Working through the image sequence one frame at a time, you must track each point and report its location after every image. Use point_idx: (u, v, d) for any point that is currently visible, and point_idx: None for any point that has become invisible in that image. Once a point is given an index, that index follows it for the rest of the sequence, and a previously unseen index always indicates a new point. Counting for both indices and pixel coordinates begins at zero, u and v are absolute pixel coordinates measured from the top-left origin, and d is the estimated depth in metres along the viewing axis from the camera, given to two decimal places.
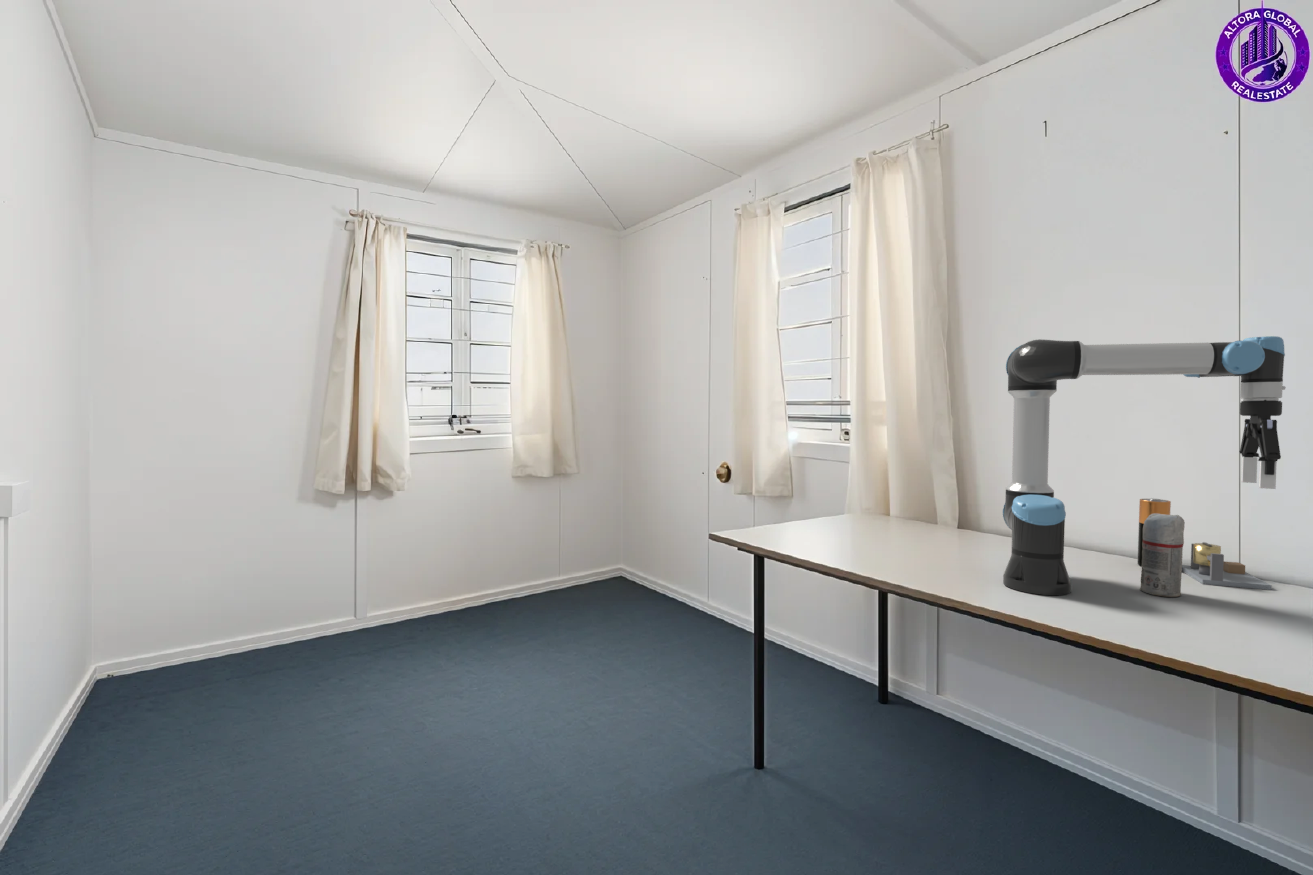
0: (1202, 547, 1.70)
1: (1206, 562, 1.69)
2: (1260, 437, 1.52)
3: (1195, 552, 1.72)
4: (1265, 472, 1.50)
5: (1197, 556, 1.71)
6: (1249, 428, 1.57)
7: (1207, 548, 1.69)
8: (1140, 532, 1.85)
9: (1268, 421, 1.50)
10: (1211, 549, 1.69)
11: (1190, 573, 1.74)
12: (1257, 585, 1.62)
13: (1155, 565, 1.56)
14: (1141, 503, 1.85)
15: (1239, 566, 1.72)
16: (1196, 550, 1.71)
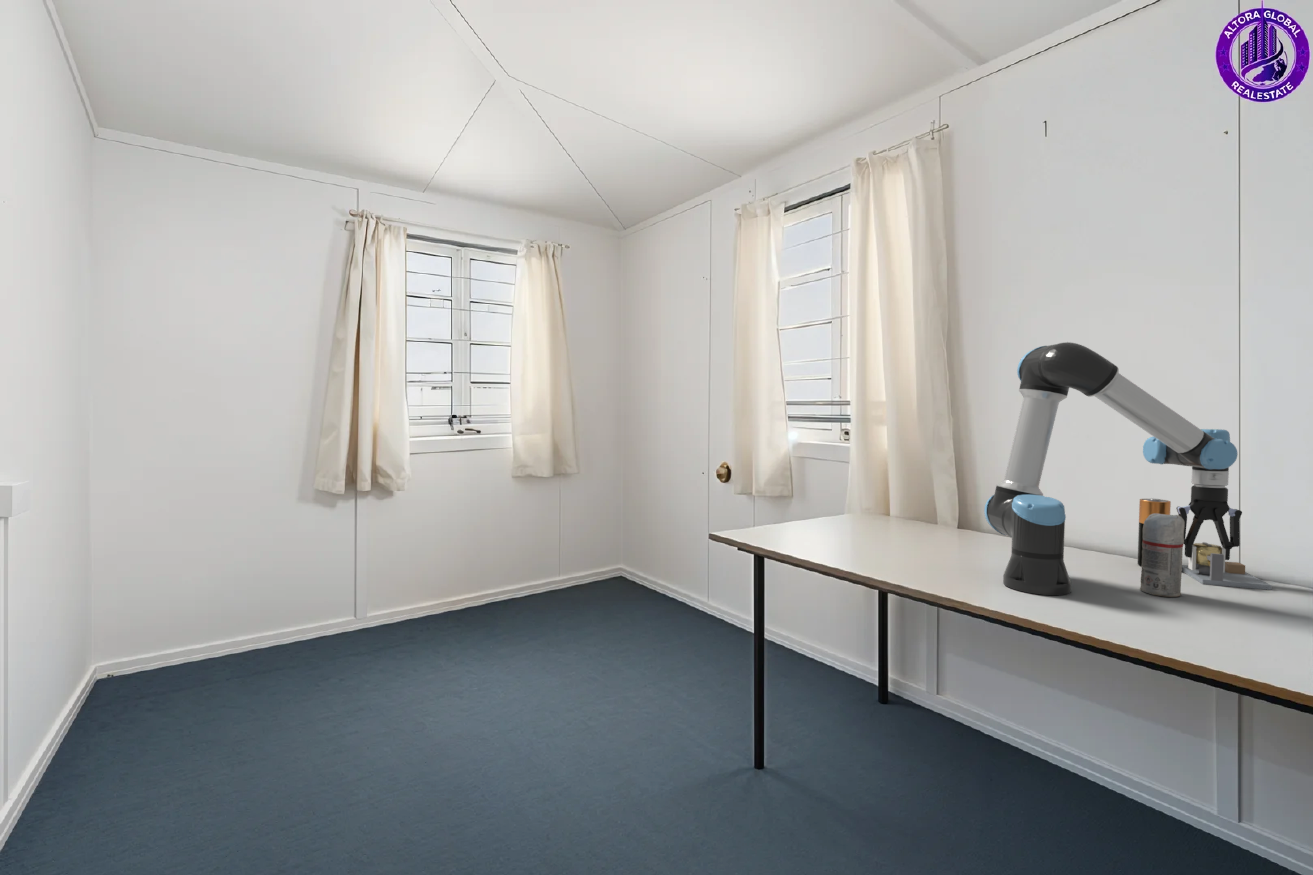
0: (1202, 547, 1.70)
1: (1206, 562, 1.69)
2: (1193, 521, 1.73)
3: None
4: None
5: (1197, 556, 1.71)
6: None
7: (1207, 548, 1.69)
8: (1140, 532, 1.85)
9: (1177, 509, 1.74)
10: (1211, 549, 1.69)
11: (1190, 573, 1.74)
12: (1257, 585, 1.62)
13: (1155, 565, 1.56)
14: (1141, 503, 1.85)
15: (1239, 566, 1.72)
16: (1196, 550, 1.71)
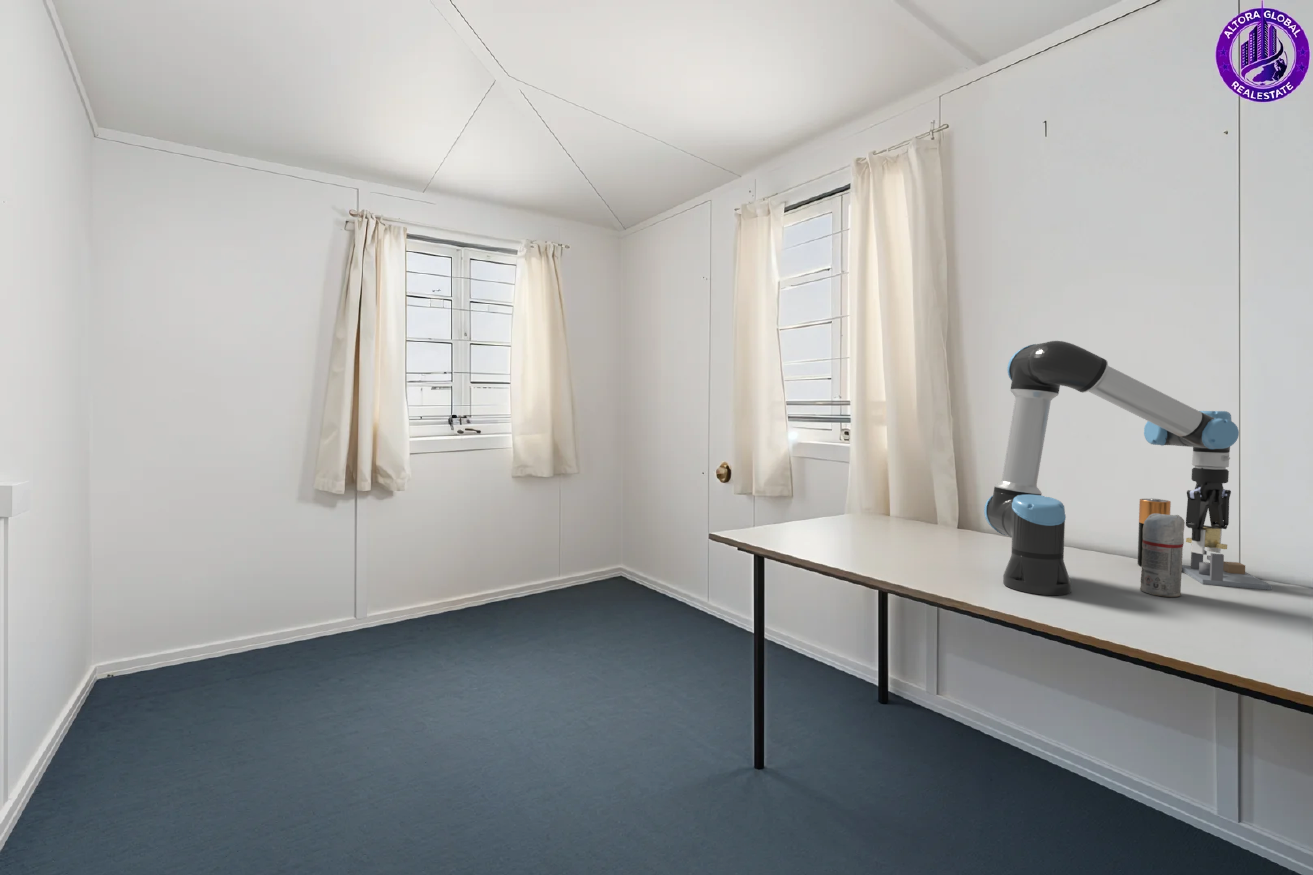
0: (1211, 530, 1.68)
1: (1215, 544, 1.68)
2: None
3: None
4: None
5: (1205, 539, 1.69)
6: None
7: (1216, 530, 1.68)
8: (1140, 532, 1.85)
9: (1190, 493, 1.69)
10: (1218, 531, 1.68)
11: (1190, 573, 1.74)
12: (1257, 585, 1.62)
13: (1155, 565, 1.56)
14: (1141, 503, 1.85)
15: (1239, 566, 1.72)
16: None
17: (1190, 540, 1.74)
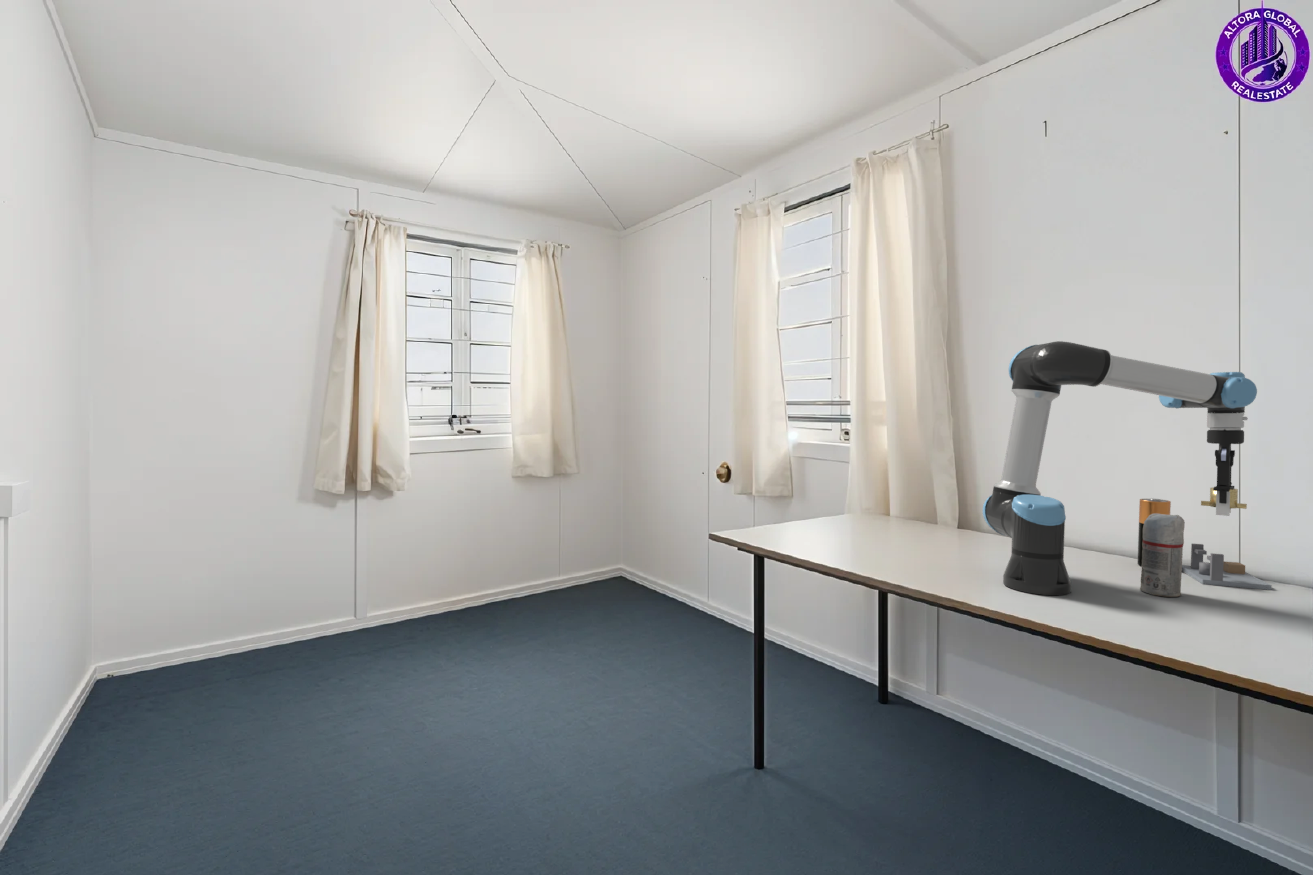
0: (1234, 491, 1.69)
1: (1236, 505, 1.69)
2: None
3: None
4: (1219, 501, 1.69)
5: None
6: None
7: (1237, 491, 1.69)
8: (1140, 532, 1.85)
9: (1222, 455, 1.66)
10: (1237, 491, 1.70)
11: (1190, 573, 1.74)
12: (1257, 585, 1.62)
13: (1155, 565, 1.56)
14: (1141, 503, 1.85)
15: (1239, 566, 1.72)
16: None
17: (1206, 503, 1.74)
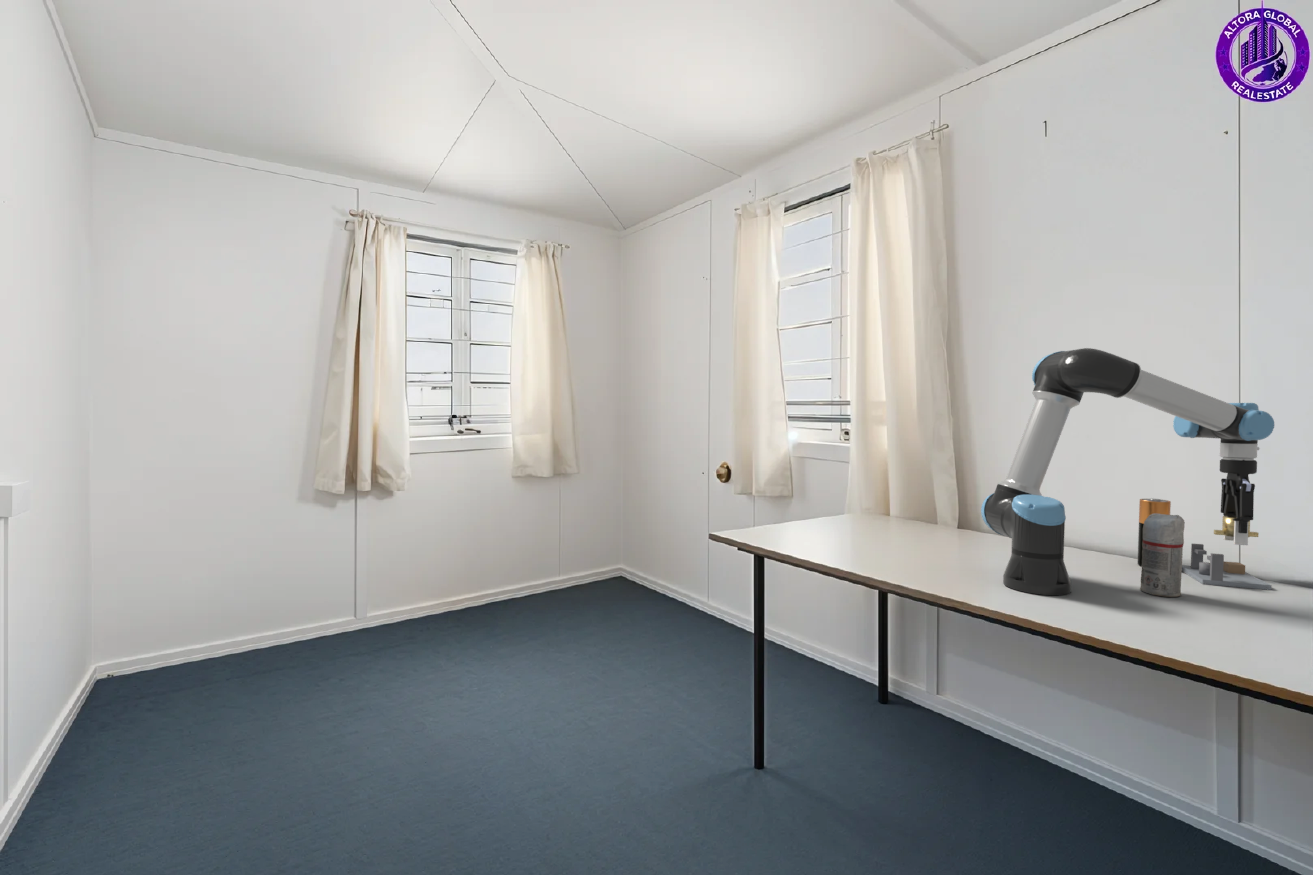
0: None
1: (1249, 534, 1.72)
2: (1237, 496, 1.71)
3: None
4: (1239, 531, 1.70)
5: None
6: (1228, 483, 1.74)
7: None
8: (1140, 532, 1.85)
9: (1247, 486, 1.67)
10: None
11: (1190, 573, 1.74)
12: (1257, 585, 1.62)
13: (1155, 565, 1.56)
14: (1141, 503, 1.85)
15: (1239, 566, 1.72)
16: None
17: (1220, 532, 1.74)
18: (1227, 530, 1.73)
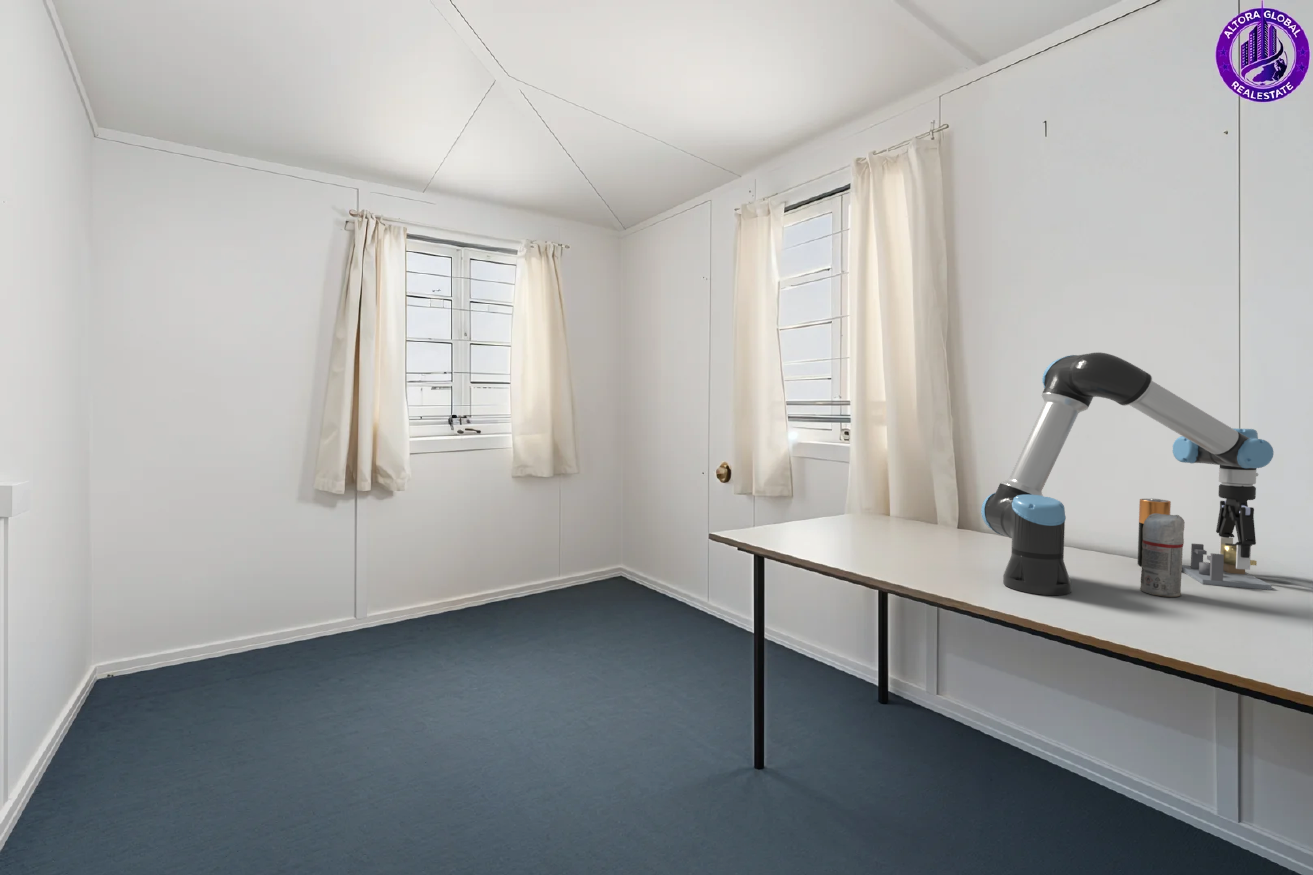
0: None
1: None
2: (1237, 521, 1.70)
3: None
4: (1241, 555, 1.68)
5: None
6: (1226, 509, 1.75)
7: None
8: (1140, 532, 1.85)
9: (1246, 509, 1.67)
10: None
11: (1190, 573, 1.74)
12: (1257, 585, 1.62)
13: (1155, 565, 1.56)
14: (1141, 503, 1.85)
15: None
16: None
17: None
18: (1225, 558, 1.73)
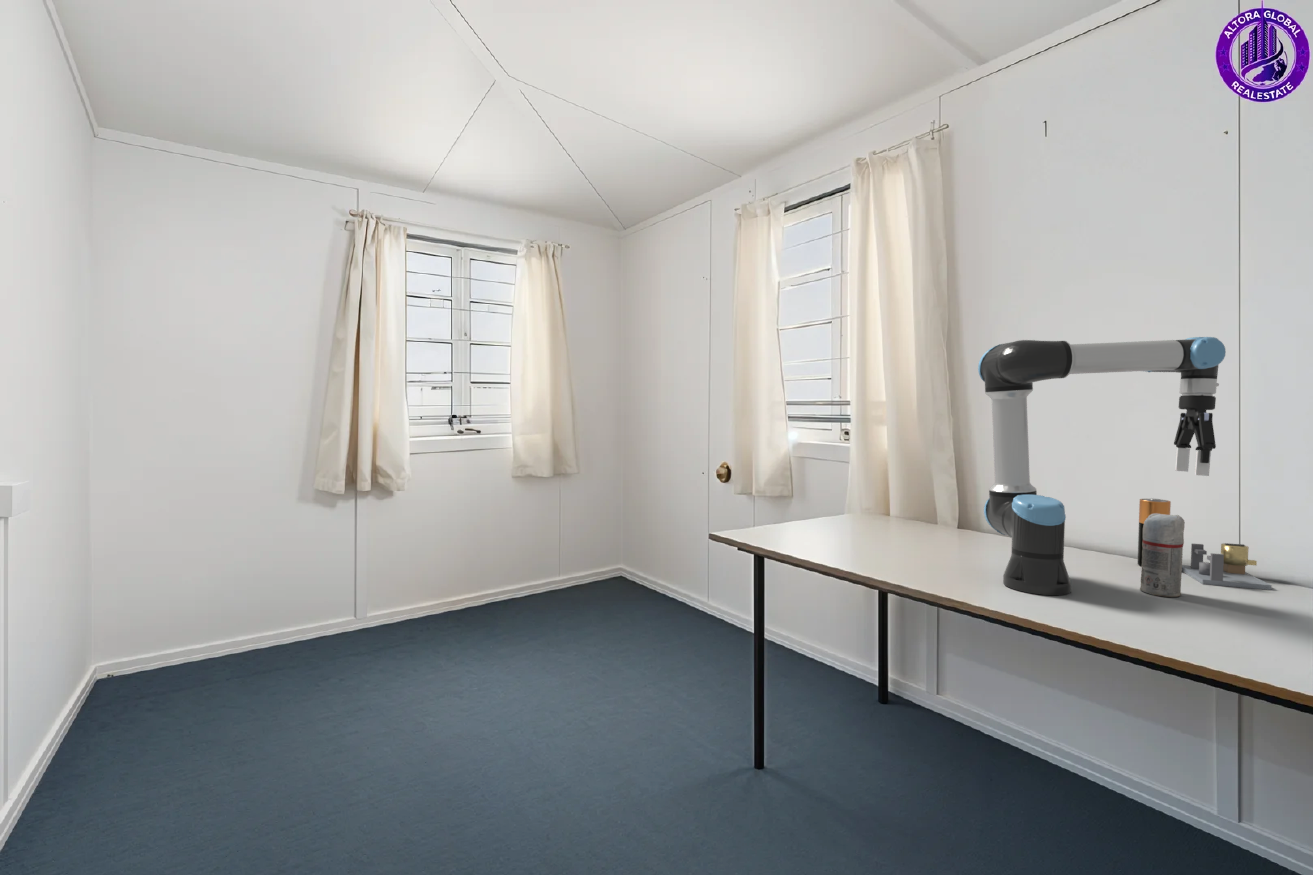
0: (1247, 548, 1.71)
1: (1247, 562, 1.72)
2: (1197, 429, 1.67)
3: (1241, 555, 1.71)
4: (1201, 460, 1.64)
5: (1244, 558, 1.71)
6: (1186, 421, 1.72)
7: None
8: (1140, 532, 1.85)
9: (1205, 414, 1.64)
10: None
11: (1190, 573, 1.74)
12: (1257, 585, 1.62)
13: (1155, 565, 1.56)
14: (1141, 503, 1.85)
15: (1239, 566, 1.72)
16: (1243, 553, 1.71)
17: None
18: (1225, 558, 1.73)
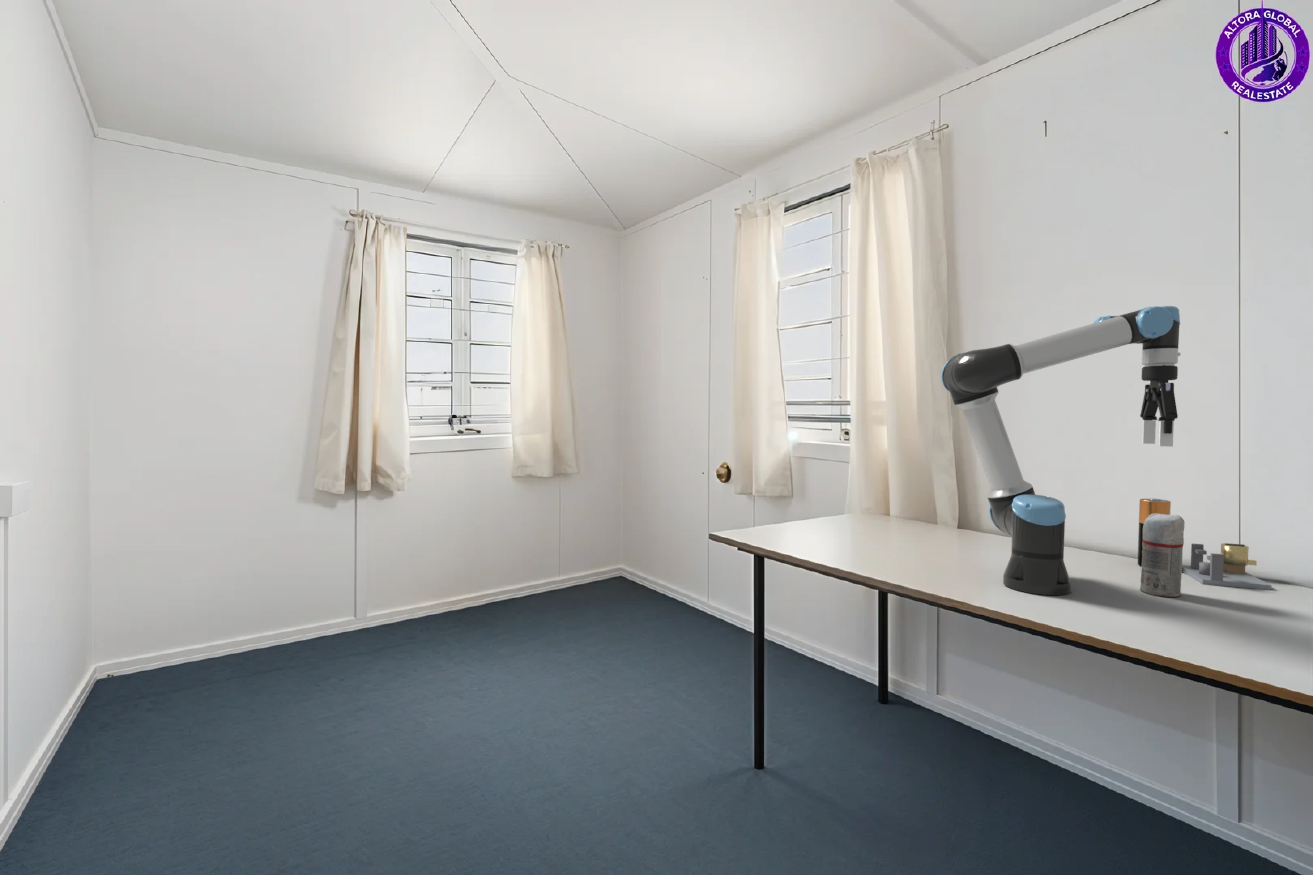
0: (1247, 548, 1.71)
1: (1247, 562, 1.72)
2: (1159, 399, 1.64)
3: (1241, 555, 1.71)
4: (1164, 431, 1.62)
5: (1244, 558, 1.71)
6: (1149, 392, 1.70)
7: None
8: (1140, 532, 1.85)
9: (1166, 384, 1.62)
10: None
11: (1190, 573, 1.74)
12: (1257, 585, 1.62)
13: (1155, 565, 1.56)
14: (1141, 503, 1.85)
15: (1239, 566, 1.72)
16: (1243, 553, 1.71)
17: None
18: (1225, 558, 1.73)
